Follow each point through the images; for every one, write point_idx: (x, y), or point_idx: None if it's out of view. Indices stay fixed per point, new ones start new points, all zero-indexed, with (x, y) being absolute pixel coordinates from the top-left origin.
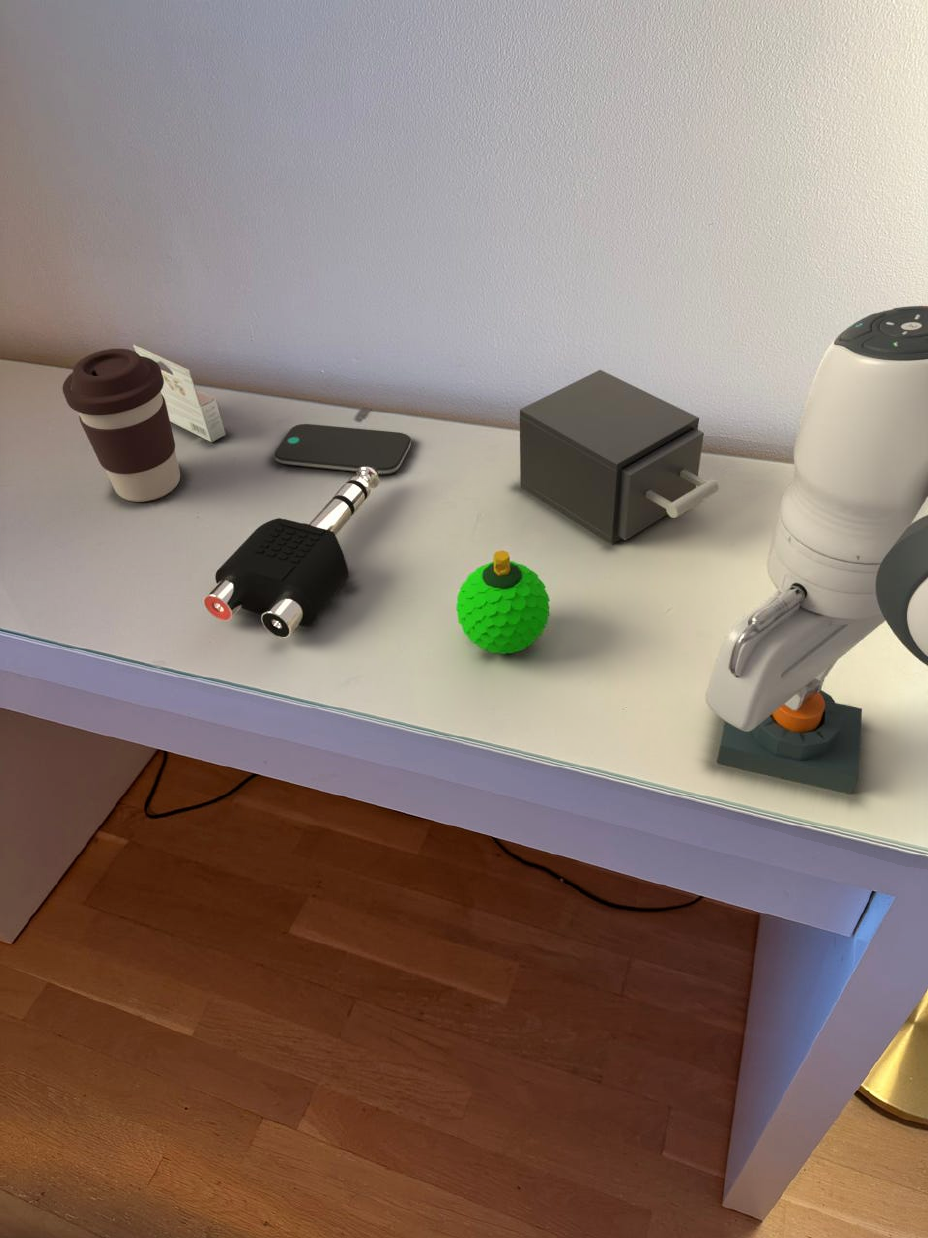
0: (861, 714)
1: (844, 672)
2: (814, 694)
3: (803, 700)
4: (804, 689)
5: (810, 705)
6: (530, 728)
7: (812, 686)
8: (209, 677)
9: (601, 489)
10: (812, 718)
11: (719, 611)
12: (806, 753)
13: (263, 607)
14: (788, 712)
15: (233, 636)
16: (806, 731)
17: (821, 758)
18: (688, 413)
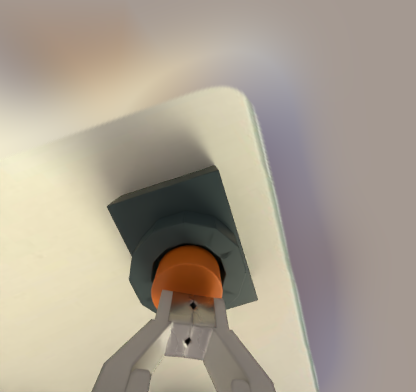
0: (116, 203)
1: (53, 234)
2: (180, 296)
3: (214, 310)
4: (236, 353)
5: (188, 280)
6: (292, 388)
7: (192, 326)
8: None
9: None
10: (209, 268)
11: (71, 354)
12: (231, 235)
13: None
14: (219, 297)
15: None
16: (209, 253)
17: (216, 215)
18: None
